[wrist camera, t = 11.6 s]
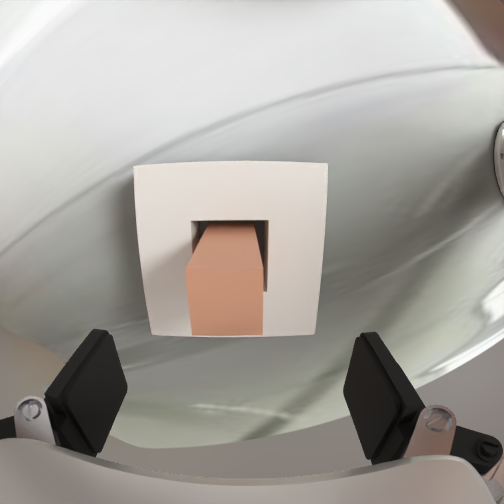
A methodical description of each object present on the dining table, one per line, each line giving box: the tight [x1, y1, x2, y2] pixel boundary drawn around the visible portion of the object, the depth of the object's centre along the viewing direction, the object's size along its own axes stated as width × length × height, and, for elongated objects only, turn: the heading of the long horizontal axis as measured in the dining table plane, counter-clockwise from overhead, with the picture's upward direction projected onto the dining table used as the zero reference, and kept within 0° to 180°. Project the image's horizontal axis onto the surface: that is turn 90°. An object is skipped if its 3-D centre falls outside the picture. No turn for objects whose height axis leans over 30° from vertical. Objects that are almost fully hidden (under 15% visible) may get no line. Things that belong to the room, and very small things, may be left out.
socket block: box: [134, 161, 328, 337], centre depth 25 cm, size 15×15×5 cm
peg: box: [185, 222, 263, 336], centre depth 21 cm, size 4×4×12 cm
